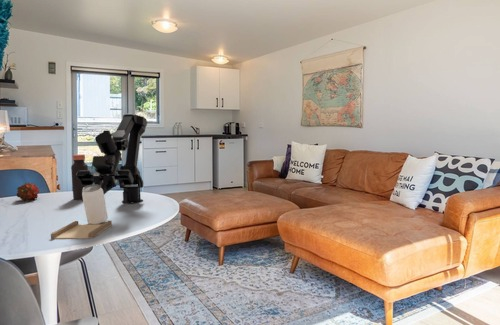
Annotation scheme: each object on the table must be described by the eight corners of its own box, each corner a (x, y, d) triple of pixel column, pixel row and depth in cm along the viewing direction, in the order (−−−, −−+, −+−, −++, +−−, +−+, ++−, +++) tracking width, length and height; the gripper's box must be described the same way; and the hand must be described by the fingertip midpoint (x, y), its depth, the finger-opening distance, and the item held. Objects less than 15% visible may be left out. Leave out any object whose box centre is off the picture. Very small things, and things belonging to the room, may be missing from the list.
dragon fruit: (25, 206, 156) (28, 205, 167) (43, 193, 160) (44, 192, 170) (11, 191, 154) (14, 191, 165) (28, 178, 158) (31, 179, 168)
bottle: (80, 196, 168) (78, 154, 166) (93, 197, 166) (90, 154, 164) (69, 199, 161) (66, 155, 159) (82, 200, 159) (79, 155, 157)
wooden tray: (75, 225, 118) (75, 221, 118) (111, 225, 117) (111, 220, 117) (51, 238, 104) (50, 233, 104) (91, 238, 103) (91, 233, 103)
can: (112, 217, 123) (106, 185, 119) (99, 226, 117) (92, 193, 113) (96, 214, 125) (90, 182, 120) (83, 223, 119) (76, 190, 115)
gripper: (76, 147, 126) (61, 183, 116) (129, 147, 125) (118, 182, 115) (88, 168, 134) (75, 202, 124) (137, 167, 134) (128, 202, 124)
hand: (98, 197), depth 122 cm, fingers closed
